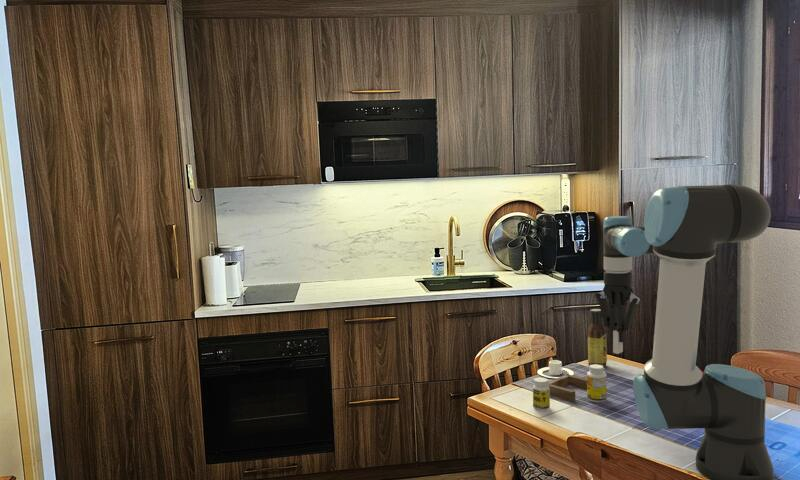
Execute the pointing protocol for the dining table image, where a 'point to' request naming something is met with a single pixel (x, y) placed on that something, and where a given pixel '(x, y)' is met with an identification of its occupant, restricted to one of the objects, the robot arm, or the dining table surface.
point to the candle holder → (554, 369)
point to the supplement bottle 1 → (541, 394)
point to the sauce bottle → (597, 339)
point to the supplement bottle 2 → (596, 384)
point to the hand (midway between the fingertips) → (618, 352)
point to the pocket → (561, 382)
